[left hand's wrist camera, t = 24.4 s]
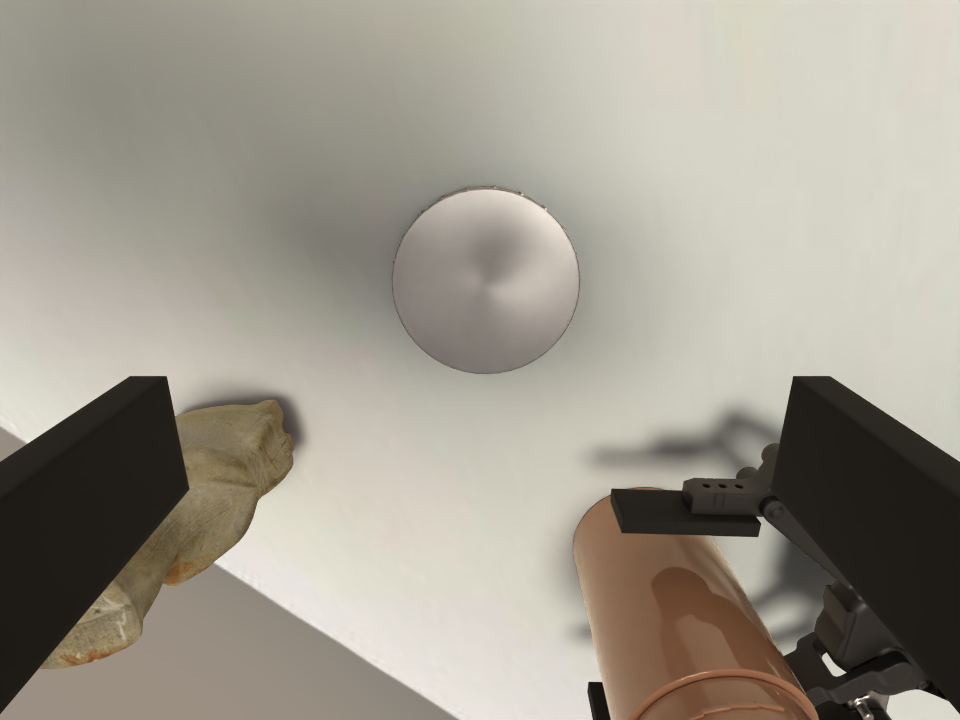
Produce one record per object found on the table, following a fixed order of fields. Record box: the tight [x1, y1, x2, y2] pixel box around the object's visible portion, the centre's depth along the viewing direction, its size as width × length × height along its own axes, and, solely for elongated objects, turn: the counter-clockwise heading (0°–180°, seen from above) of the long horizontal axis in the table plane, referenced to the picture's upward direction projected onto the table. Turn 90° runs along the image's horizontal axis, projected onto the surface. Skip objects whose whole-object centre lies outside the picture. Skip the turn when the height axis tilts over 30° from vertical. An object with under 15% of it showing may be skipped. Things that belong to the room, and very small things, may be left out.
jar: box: [573, 488, 819, 720], centre depth 29 cm, size 8×8×15 cm
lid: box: [392, 185, 580, 374], centre depth 30 cm, size 10×10×2 cm
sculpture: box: [39, 399, 294, 669], centre depth 27 cm, size 6×7×15 cm
